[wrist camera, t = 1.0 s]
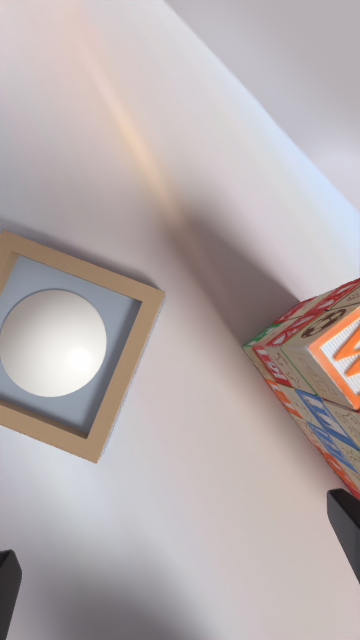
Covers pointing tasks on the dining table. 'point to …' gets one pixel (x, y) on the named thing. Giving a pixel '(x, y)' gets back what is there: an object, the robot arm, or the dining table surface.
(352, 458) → the stack of blocks
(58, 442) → the square wooden frame
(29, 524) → the dining table surface
